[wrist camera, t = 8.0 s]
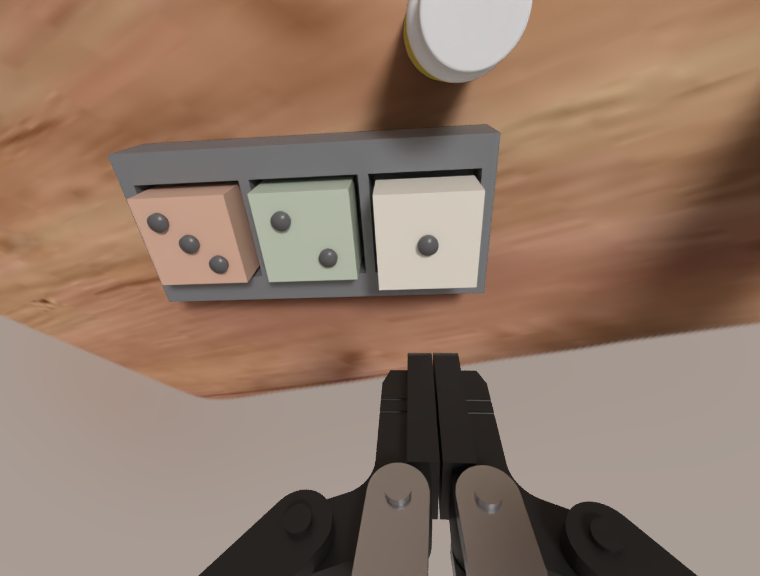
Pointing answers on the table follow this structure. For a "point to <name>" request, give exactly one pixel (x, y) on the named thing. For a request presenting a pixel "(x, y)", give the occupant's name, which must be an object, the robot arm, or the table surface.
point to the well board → (318, 159)
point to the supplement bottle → (462, 35)
